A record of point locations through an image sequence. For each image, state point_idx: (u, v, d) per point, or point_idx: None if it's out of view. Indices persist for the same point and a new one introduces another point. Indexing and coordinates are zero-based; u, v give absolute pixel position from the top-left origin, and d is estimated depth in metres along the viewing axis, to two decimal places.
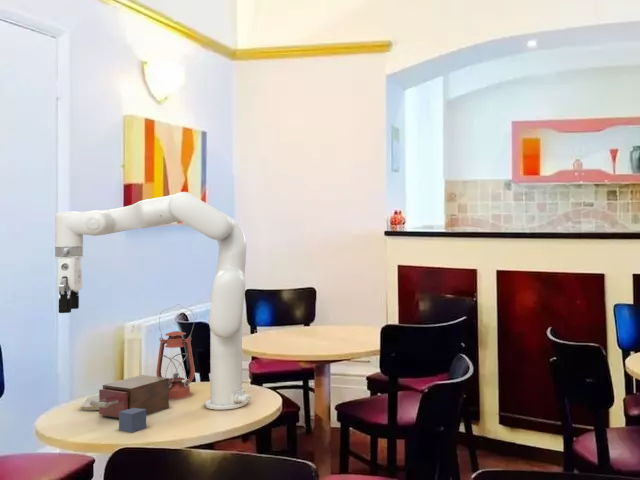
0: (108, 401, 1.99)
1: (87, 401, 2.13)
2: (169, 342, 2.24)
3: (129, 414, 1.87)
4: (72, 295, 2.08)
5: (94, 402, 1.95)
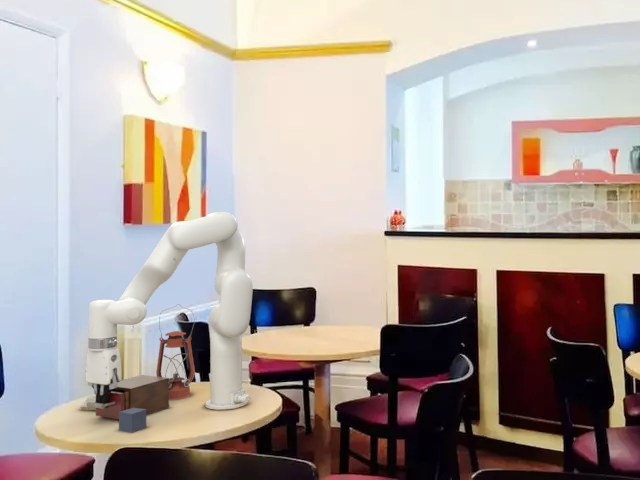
0: None
1: (87, 401, 2.13)
2: (169, 342, 2.24)
3: (129, 414, 1.87)
4: None
5: (91, 403, 1.94)
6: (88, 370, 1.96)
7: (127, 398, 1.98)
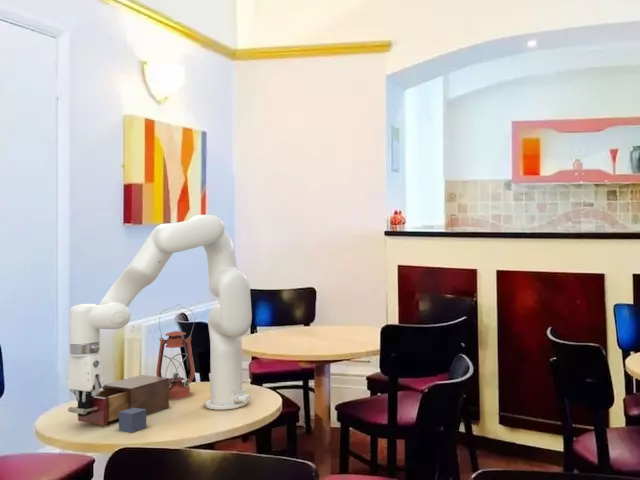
0: None
1: None
2: (169, 342, 2.24)
3: (129, 414, 1.87)
4: None
5: (72, 408, 1.89)
6: (70, 376, 1.90)
7: (110, 403, 1.93)
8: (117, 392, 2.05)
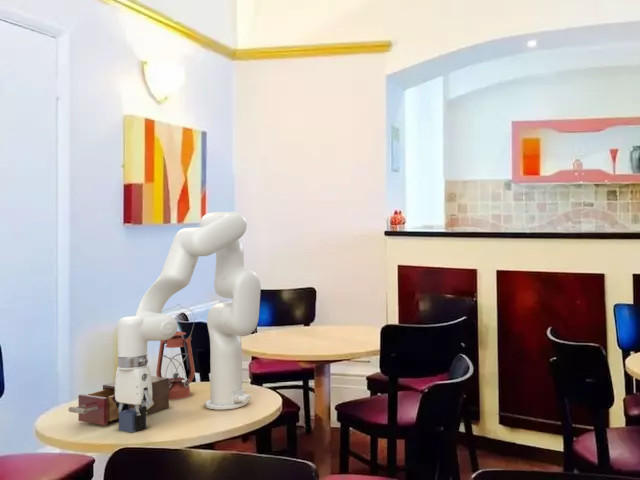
0: (87, 407, 1.93)
1: None
2: (169, 342, 2.24)
3: (129, 414, 1.87)
4: None
5: (73, 408, 1.89)
6: (118, 389, 1.89)
7: (110, 403, 1.93)
8: None
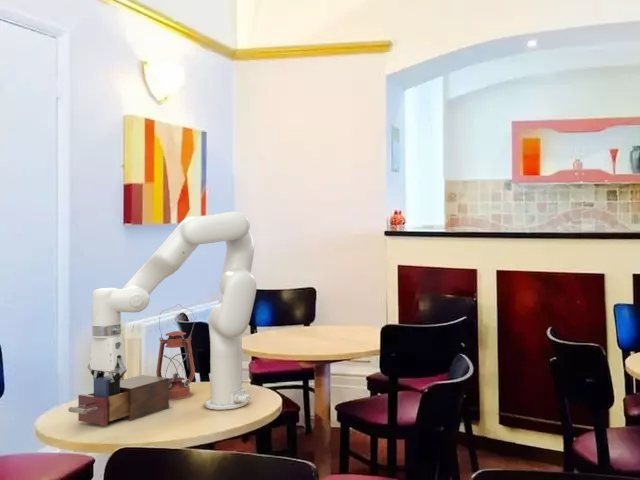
0: (87, 407, 1.93)
1: None
2: (169, 342, 2.24)
3: (103, 381, 1.95)
4: None
5: (73, 408, 1.89)
6: (92, 358, 1.97)
7: (110, 403, 1.93)
8: None
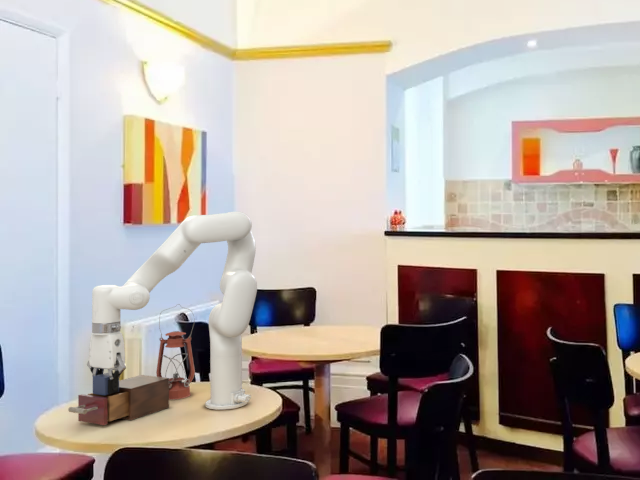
0: (87, 407, 1.93)
1: None
2: (169, 342, 2.24)
3: (102, 378, 1.94)
4: None
5: (73, 408, 1.89)
6: (92, 355, 1.97)
7: (110, 403, 1.93)
8: (117, 392, 2.05)
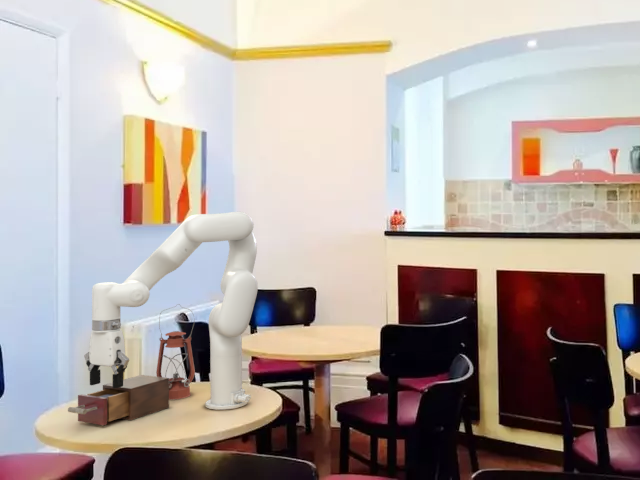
0: (87, 407, 1.93)
1: None
2: (169, 342, 2.24)
3: None
4: (95, 370, 1.99)
5: (72, 408, 1.89)
6: (92, 352, 1.97)
7: (110, 403, 1.93)
8: (117, 392, 2.05)
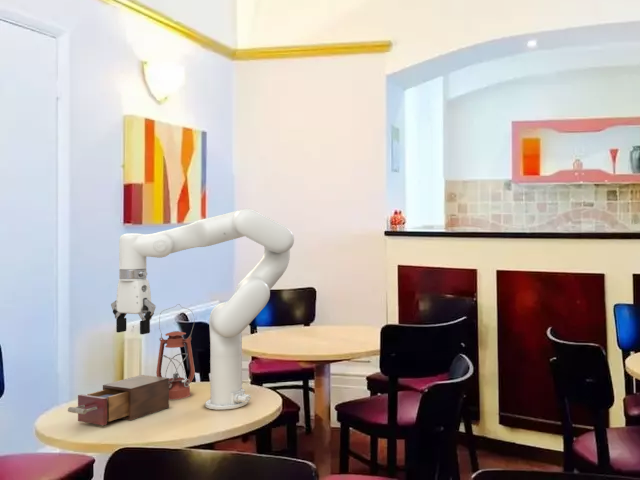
0: (87, 407, 1.93)
1: None
2: (169, 342, 2.24)
3: None
4: (121, 318, 2.06)
5: (72, 408, 1.89)
6: (119, 300, 2.04)
7: (110, 403, 1.93)
8: (117, 392, 2.05)
